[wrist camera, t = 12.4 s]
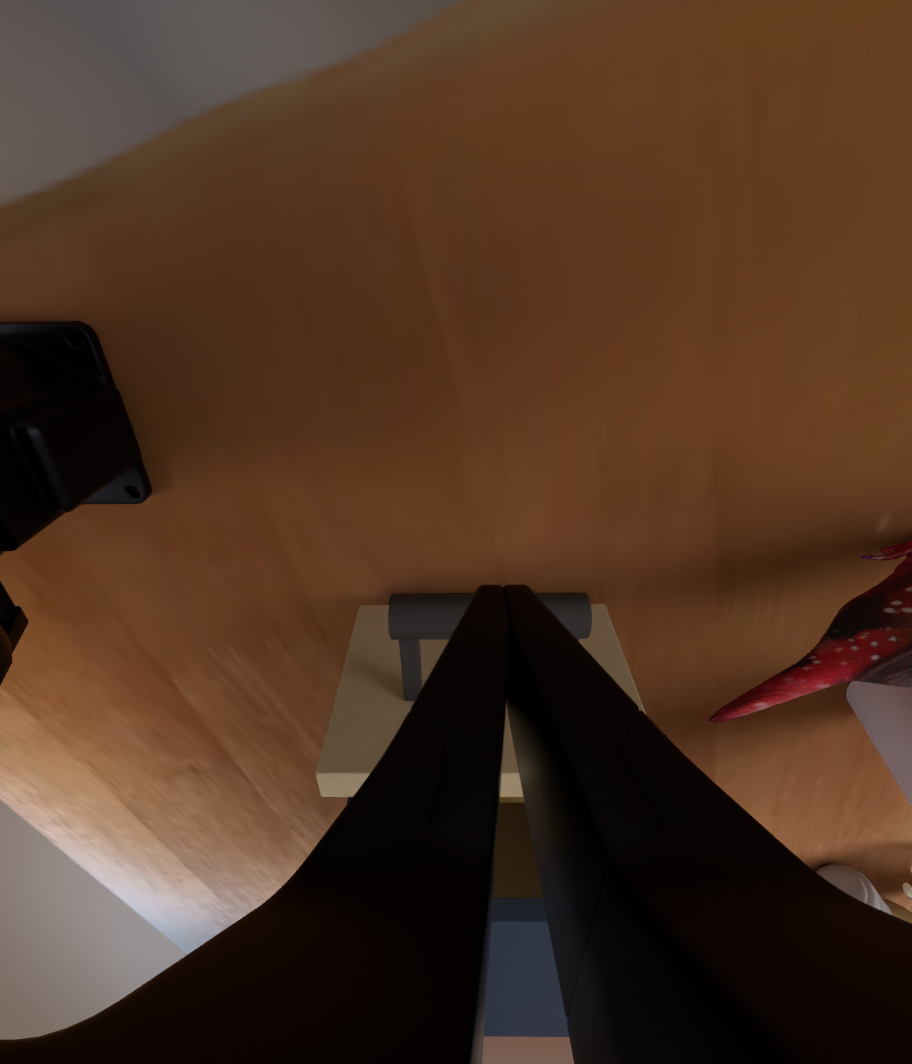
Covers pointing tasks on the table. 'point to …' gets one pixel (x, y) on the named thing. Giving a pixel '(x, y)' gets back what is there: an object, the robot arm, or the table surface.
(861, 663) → the decorative bird figurine
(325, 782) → the drawer
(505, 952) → the cabinet
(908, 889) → the mushroom
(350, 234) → the table surface
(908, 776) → the smoothie
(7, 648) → the robot arm
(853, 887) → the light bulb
